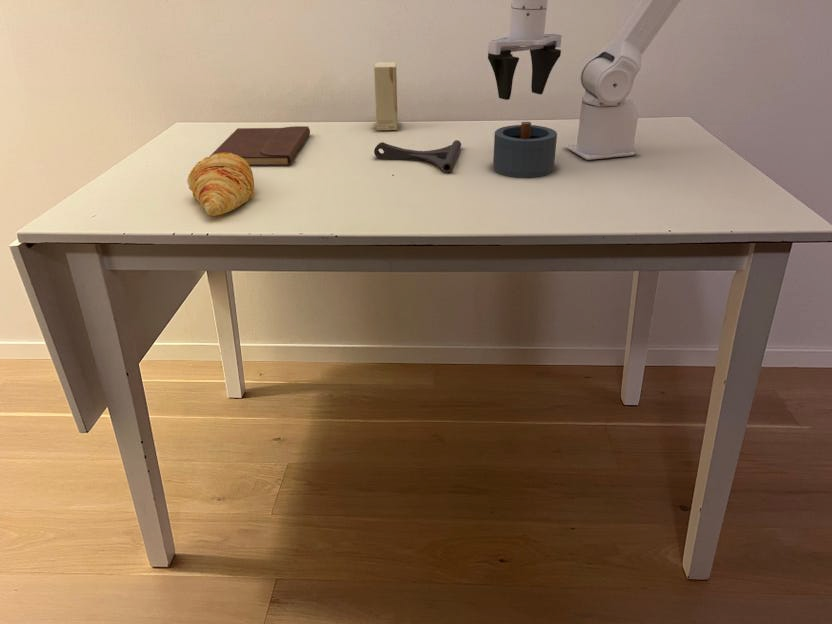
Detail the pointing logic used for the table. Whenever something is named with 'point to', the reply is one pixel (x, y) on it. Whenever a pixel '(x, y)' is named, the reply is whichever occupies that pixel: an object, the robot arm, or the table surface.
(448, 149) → the bracket
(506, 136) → the jar
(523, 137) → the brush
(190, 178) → the croissant
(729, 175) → the table surface
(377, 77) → the cosmetic box
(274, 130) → the notebook
